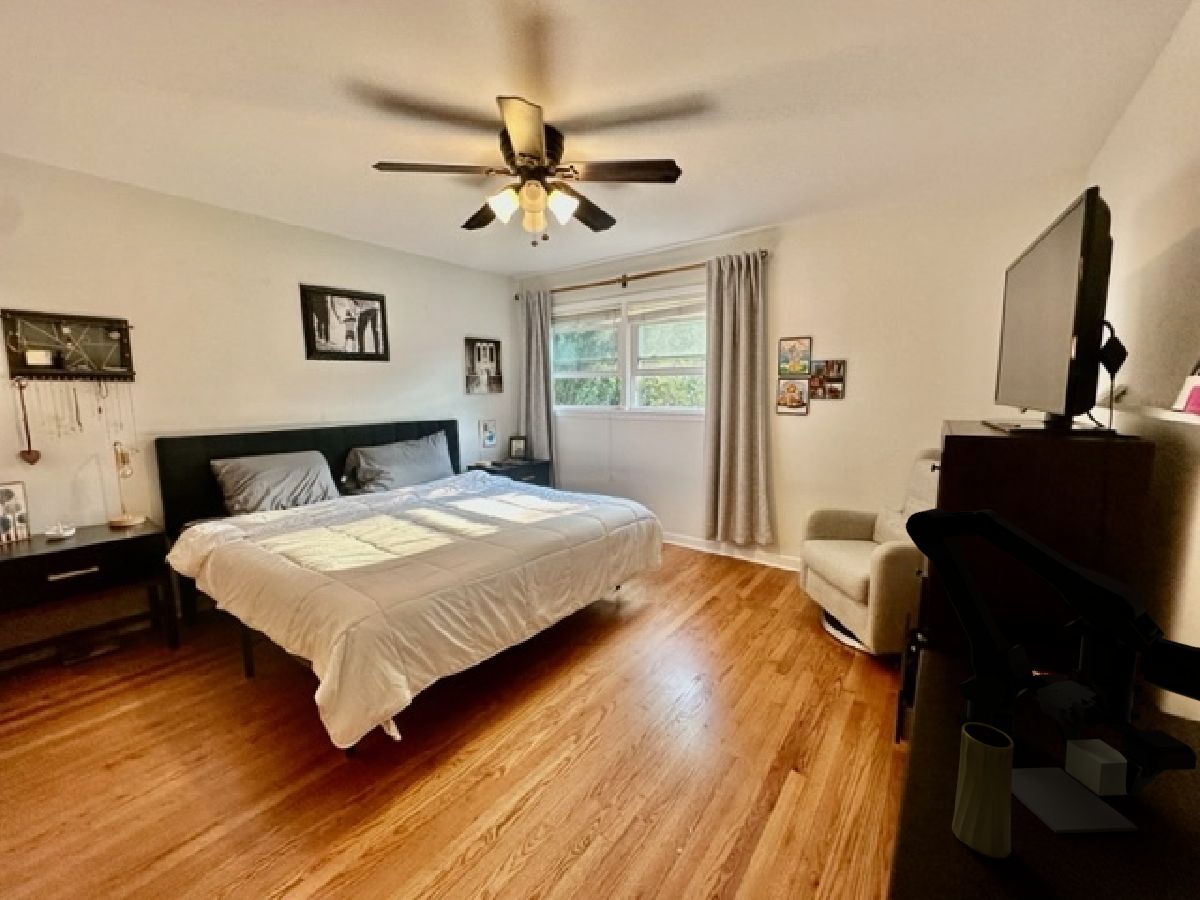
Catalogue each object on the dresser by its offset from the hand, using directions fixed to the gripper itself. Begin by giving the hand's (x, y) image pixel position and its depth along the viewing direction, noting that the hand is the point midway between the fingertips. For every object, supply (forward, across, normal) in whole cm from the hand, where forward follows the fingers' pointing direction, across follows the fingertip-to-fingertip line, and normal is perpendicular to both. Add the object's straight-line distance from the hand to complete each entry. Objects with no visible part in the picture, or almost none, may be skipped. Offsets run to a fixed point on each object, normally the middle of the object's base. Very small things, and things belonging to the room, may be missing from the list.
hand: (1097, 770), depth 74 cm
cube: (+2, 0, 0) cm, 2 cm away
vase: (+2, +9, -25) cm, 27 cm away
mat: (+2, +3, -9) cm, 10 cm away
